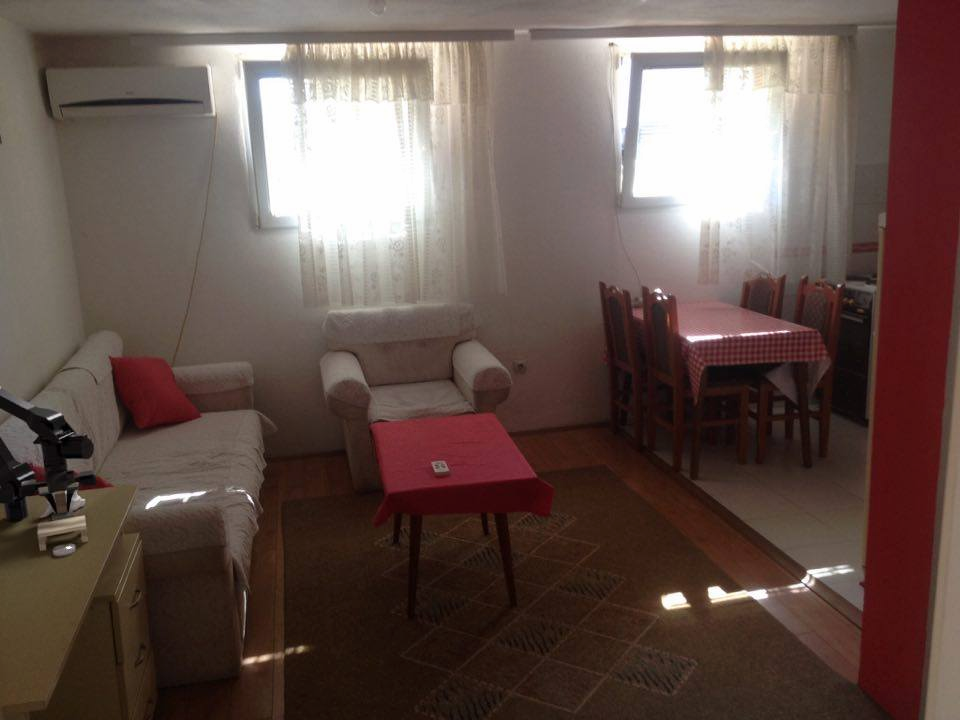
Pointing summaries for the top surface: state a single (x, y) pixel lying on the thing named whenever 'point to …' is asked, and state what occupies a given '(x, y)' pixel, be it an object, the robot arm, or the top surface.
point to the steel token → (64, 550)
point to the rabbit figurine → (74, 505)
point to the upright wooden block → (61, 507)
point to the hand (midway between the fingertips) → (62, 512)
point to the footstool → (61, 529)
